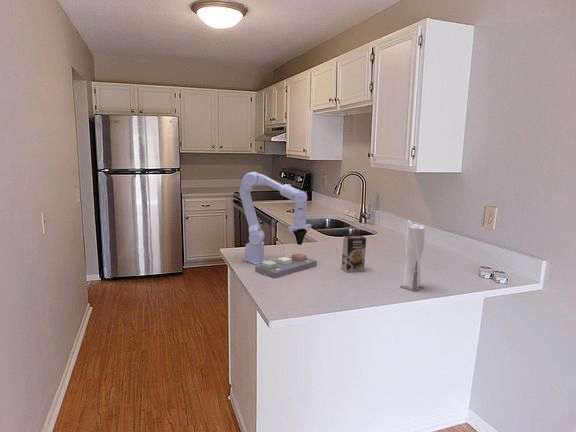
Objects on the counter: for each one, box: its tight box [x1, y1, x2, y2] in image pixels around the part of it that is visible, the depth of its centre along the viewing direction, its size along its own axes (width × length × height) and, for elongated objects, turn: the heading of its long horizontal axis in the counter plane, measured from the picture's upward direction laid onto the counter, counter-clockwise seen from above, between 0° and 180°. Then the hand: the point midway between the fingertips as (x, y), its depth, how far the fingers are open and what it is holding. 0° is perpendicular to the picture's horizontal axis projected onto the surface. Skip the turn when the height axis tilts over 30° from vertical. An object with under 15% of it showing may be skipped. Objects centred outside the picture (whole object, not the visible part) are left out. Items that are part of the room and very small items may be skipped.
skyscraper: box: [399, 219, 426, 293], centre depth 166 cm, size 8×8×28 cm
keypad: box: [254, 256, 318, 279], centre depth 188 cm, size 13×28×3 cm, turn 136°
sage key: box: [260, 260, 277, 270], centre depth 182 cm, size 5×5×3 cm
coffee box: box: [341, 235, 367, 273], centre depth 188 cm, size 9×6×16 cm
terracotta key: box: [291, 252, 307, 262], centre depth 196 cm, size 5×5×3 cm
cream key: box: [276, 256, 292, 266], centre depth 189 cm, size 5×5×3 cm
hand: (299, 244), depth 195 cm, fingers closed
